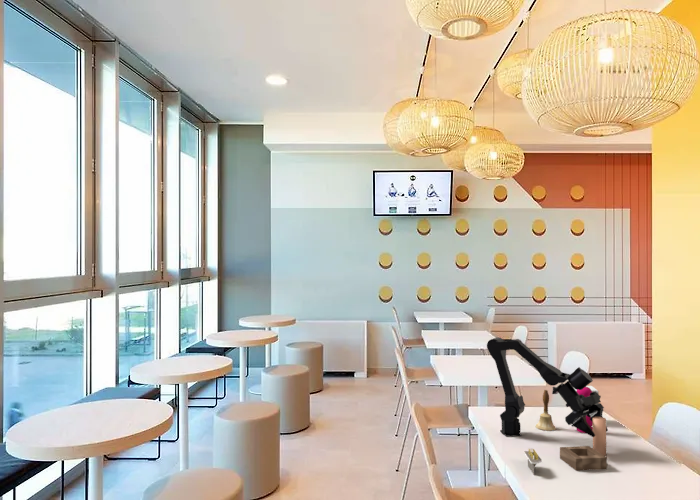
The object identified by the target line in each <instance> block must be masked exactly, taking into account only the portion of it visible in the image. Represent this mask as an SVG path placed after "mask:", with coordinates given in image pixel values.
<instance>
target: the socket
mask: <svg viewBox="0 0 700 500" xmlns="http://www.w3.org/2000/svg"><path fill="white" fill-rule="evenodd" d="M559 459H560V460H561V461H563V462H564V463H565V464H566V465H568V466H569V467H571V468H572V469H573V470H575V472H578V471H579V472H580V471H596V470H599V471H600V470H607V469H608V464H607V463H608V458H607V456H604V455H602V454H601V453H599V452H597V451H596V450H594V449H593V447H591V446H590V445H585V446H584V445H583V446H581V445H580V446H559Z"/></svg>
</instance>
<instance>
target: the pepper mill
mask: <svg viewBox="0 0 700 500" xmlns="http://www.w3.org/2000/svg"><path fill="white" fill-rule="evenodd" d="M577 393H578V394H579V395H583V396H584V397H588V396H590V393H592V391H591V389H590V388H588V387H584V388H583V389H582V390H579V389H577ZM590 418H591V417H590ZM590 418H589V417H588V416H587V415H586V421H587V423H588V425H589V426H590V428H591V429H592V430H593V424H592V421H591V420H590ZM576 431H577V432H578V433H581V434H586V433H585V432H583V431H582V430H580V429H578V428H576Z"/></svg>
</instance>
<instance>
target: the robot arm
mask: <svg viewBox="0 0 700 500" xmlns="http://www.w3.org/2000/svg"><path fill="white" fill-rule="evenodd" d="M486 348H487V351H488V352H489V354H490V356H491V358H492V359H493V360H494V362H495V366H496V370H497V373H498V376H499V379H500V382H501V386H502V389H503V392H504V408H505V410H504V411H503V412H502V413H500V414H499V417H500V420H501V429H500V430H499V431H500V432H501V434H503V435H504V436H505V437H517V436H518V437H521V436H522V434H521V422H520V419H519V417H520V415H521V414H522V413H524V411H525V406H526V404H525V402H524V396H523V395H519V394H518V393H517V391H516V388H515V387H516V386H515V384H514V381H513V378H512V374H511V372H510V366H509V365H508V361H507V351H510V350H514V351H515V352H516V353H517V354H518V355H520V356H521V357H522V358H523V359H524V360H525V361H527V363H529V364H530V365H531V366H532V367H534V369H535V370H536V371H537V372H538V373H539V375H540V377H541V378H542V379H543V381H544V382H545V383H546V384H547V385H549V386H553V387H552V393H551V394H552V395H558V394H559V396H561V398H562V400H564V402H565V403H566V404H565V407H566V408H568V407H569V408H570V409H571V412H570V413H569V414H567V415H566V416H565V418H564V419H565V421H564V422H565V423H566V425H568V426H570V425H571V427H573V428H575V429H577V428H578V429H580V430H582V431H583V432H585V433H584V434H587V435H589V436H590V437H592V438H593V437H594V436H595V434H594V432H593V430H592V429H591V428H590V426H589V425H588V423H587V421H586V415H587V416H588V417H589V418H590V417H591V418H590V420H591V421H592V417H603V413H604V409H605V407H604V406H603V405H602V403H601V395H600V394H598V393H599V392H598V393H597V392H596V391H595V392H592V393H590V396H588V397H584V396H583V395H579V394H578V393H577V391H576V390H577V389H579V390H582V389H583V388H584V387H586V386H589V384H590V383H592V382H593V381H594V380H593V378H592V377H591V375H590V374H589V373H588V372H586V371H585V370H584V369H582V368H581V367H580V366H578V367H576V369H574V371H573V372H572V373H566V372H562V371H561V370H560V369H559V368H557V367H556V366H554V365H552V364H550V363H548V362H546V361H544V359H542V358H541V357H540V356H539V355H537V354H536V353H535V351H533V350H532V349H530V347H528V346H527V344H525V343H523V341H522V340H521V339H519V338H515V339H512V338H505V339H503V338H501V337H499V336H496V337H494V338H491V339H489V340H488V341H487V342H486ZM567 380H568V381H567ZM574 388H575V389H576V390H575V389H574ZM608 431H609V429H608V426H606V433H607V432H608Z"/></svg>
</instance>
